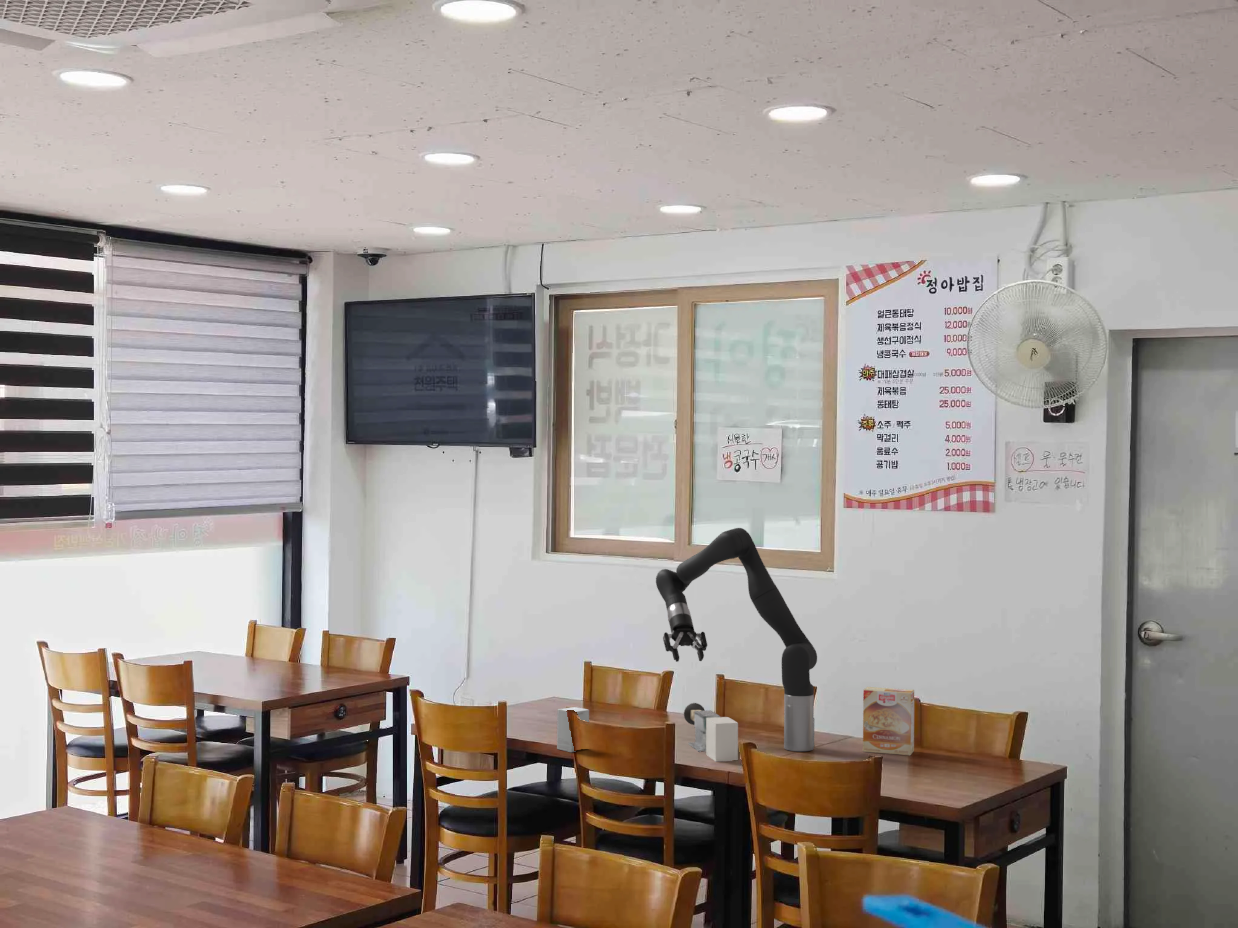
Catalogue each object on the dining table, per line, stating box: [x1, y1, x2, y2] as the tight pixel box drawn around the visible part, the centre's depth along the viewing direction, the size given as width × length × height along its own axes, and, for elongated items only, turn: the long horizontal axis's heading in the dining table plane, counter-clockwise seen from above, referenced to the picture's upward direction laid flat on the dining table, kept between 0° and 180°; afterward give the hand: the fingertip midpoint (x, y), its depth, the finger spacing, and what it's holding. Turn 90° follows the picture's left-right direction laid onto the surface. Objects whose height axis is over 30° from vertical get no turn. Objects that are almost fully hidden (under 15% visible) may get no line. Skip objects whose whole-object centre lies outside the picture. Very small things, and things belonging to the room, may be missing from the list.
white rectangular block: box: [705, 716, 739, 762], centre depth 419 cm, size 10×7×11 cm
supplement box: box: [556, 706, 590, 753], centre depth 430 cm, size 7×7×13 cm
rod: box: [683, 702, 706, 726], centre depth 438 cm, size 23×7×7 cm, turn 13°
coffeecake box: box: [862, 686, 915, 756], centre depth 429 cm, size 15×7×20 cm, turn 70°
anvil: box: [687, 709, 721, 753], centre depth 435 cm, size 12×9×11 cm
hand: (689, 659), depth 442 cm, fingers open, 7 cm apart
